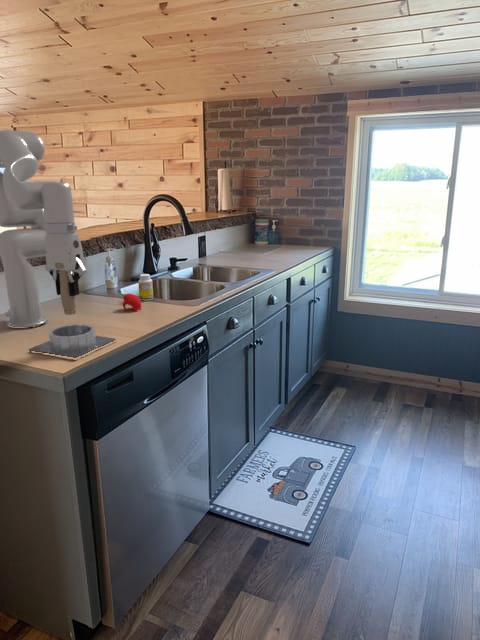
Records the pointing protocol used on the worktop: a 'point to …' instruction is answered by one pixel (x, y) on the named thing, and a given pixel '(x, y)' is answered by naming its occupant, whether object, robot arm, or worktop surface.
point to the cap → (132, 301)
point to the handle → (66, 291)
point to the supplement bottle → (145, 287)
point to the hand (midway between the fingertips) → (68, 293)
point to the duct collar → (72, 341)
